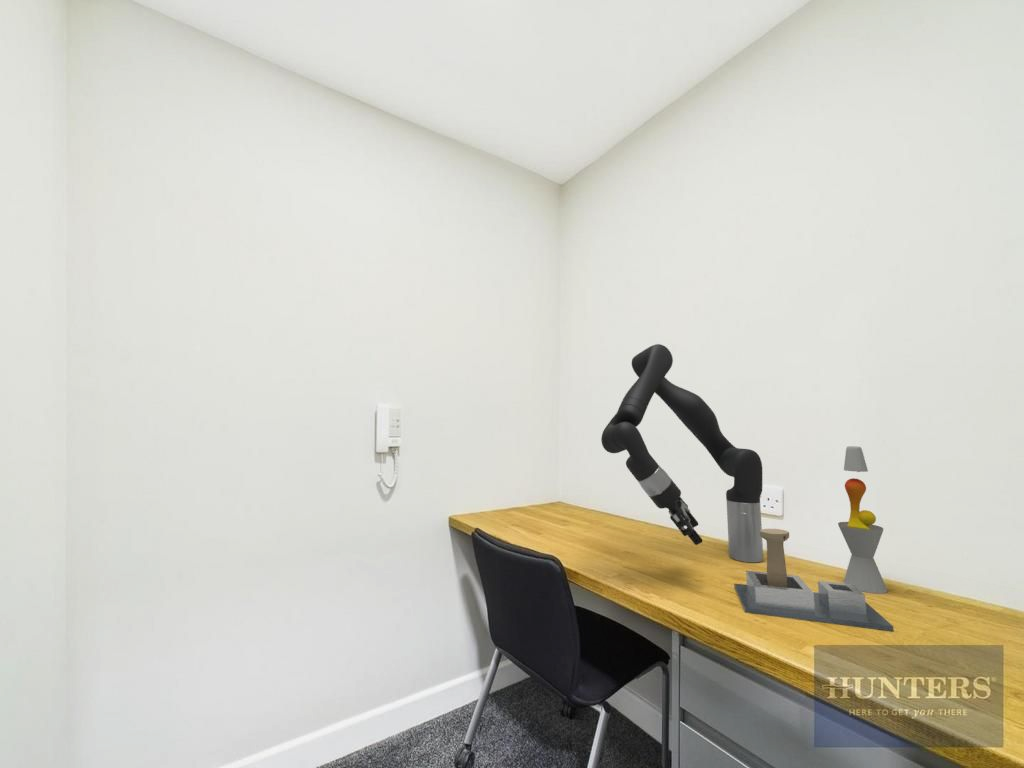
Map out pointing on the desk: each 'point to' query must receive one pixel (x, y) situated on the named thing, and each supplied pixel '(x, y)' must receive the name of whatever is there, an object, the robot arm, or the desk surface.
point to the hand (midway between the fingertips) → (697, 534)
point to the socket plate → (809, 602)
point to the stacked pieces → (860, 531)
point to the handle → (775, 556)
